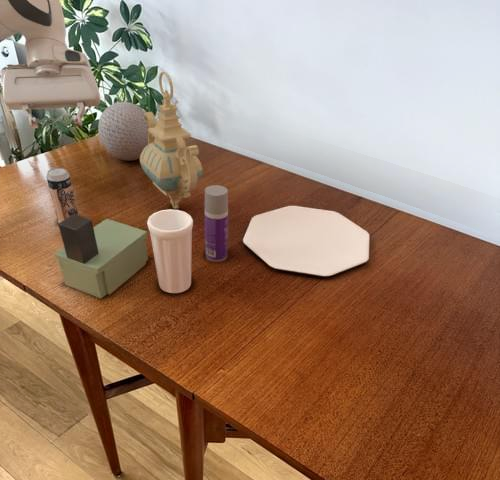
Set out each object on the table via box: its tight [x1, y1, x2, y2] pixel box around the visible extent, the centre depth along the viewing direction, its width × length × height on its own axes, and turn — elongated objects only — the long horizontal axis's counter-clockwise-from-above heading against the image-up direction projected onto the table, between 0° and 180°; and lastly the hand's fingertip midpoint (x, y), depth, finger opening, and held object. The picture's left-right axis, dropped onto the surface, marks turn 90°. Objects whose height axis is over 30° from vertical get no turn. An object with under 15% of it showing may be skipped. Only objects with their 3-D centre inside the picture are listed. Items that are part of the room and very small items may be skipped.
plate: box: [242, 205, 371, 278], centre depth 104 cm, size 28×28×2 cm
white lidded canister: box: [46, 167, 80, 224], centre depth 103 cm, size 5×5×12 cm
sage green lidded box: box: [53, 218, 149, 299], centre depth 91 cm, size 10×15×7 cm, turn 154°
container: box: [204, 184, 229, 263], centre depth 94 cm, size 5×5×15 cm
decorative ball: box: [97, 101, 149, 162], centre depth 129 cm, size 15×15×15 cm
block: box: [58, 214, 99, 264], centre depth 83 cm, size 4×4×7 cm
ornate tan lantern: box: [139, 71, 204, 210], centre depth 103 cm, size 24×12×30 cm, turn 33°
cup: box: [146, 208, 194, 294], centre depth 86 cm, size 8×8×14 cm
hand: (56, 126), depth 103 cm, fingers open, 8 cm apart
